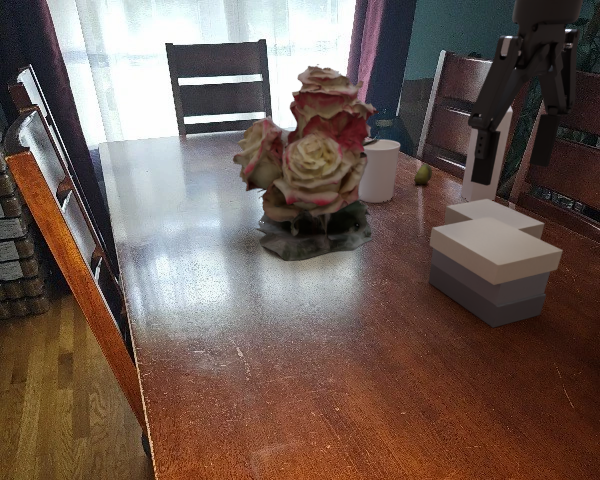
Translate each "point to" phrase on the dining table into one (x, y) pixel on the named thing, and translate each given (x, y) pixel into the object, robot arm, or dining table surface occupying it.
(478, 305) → the grey stack
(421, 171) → the lime
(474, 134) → the milk
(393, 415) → the dining table surface
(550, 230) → the dining table surface
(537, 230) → the cream stack
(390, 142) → the white cup
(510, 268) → the cream book
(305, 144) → the rose bouquet
